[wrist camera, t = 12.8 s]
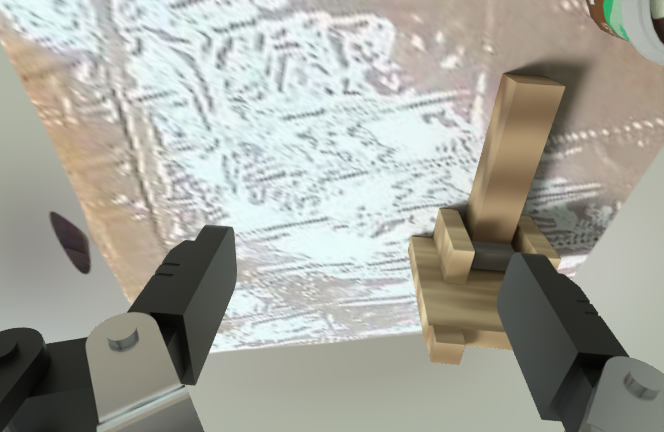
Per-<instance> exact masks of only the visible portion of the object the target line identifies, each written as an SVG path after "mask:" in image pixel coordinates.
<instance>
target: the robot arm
mask: <svg viewBox="0 0 664 432" xmlns="http://www.w3.org/2000/svg"><path fill="white" fill-rule="evenodd" d="M236 278H237V264H236V251H235V237H234V230H233V228H232V227H228V226H217V225H205V226H204V227H203V229H202V230H201V232H200V233H199V235H198V236H197V238H196V240H195V241H189V240H185V241H183V242H182V243H180V244H179V245H177V246H176V247H174V248H173V249H172V250H170V252H169V253H168V255H167V256H166V257H165V259H164V260H163V262H162V265H160V266H159V267H158V269H157V270H156V272H155V275H153V276H152V277H151V279H150V280H149V282H148V283H147V285H146V286H145V287H144V289H143V290H142V292H141V293H140V295H139V296H138V297H137V299H136V300H135V302H134V303H133V305H132V306H131V307H130V309H129V310H128V312H127V313H124V314H120V315H117V316H114V317H111V318H109V319H107V320H106V321H104V322H102V323H101V324H99V325H98V326H97V327H96V328H95V329H94V330H93V331H92V332H91V334H90V335H89V336H88V337H86V338H80V339H74V340H68V341H62V342H55V343H49V344H45V341H44V339H43V337H42V335H41V334H40V333H39V332H38V331H37V330H35V329H31V328H12V329H8V330H4V331H1V332H0V432H204V430H203V427H202V425H201V422H200V420H199V417H198V415H197V412H196V410H195V408H194V405H193V403H192V400H191V398H190V396H189V393H188V391H187V389H186V387H185V385H183V386H182V385H181V384H186V385H196V383H197V380H198V378H199V375H200V373H201V370H202V368H203V365H204V363H205V360H206V358H207V355H208V353H209V351H210V348H211V346H212V343H213V341H214V338H215V336H216V333H217V331H218V328H219V326H220V323H221V321H222V318H223V316H224V314H225V311H226V309H227V306H228V304H229V301H230V299H231V296H232V294H233V291H234V288H235V284H236ZM589 302H590V301H589V300H588V298H587V297H586V295H585V294H584V292H583V291H582V290H581V288H580V287H579V286H578V285H577V284H575V283H574V282H573V281H572V280H570V279H569V278H568V277H567V276H565V275H564V274H560V273H558V272H557V271H556V269H555V268H554V266H553V265H552V263H551V262H550V260H549V259H548V258H547V256H546V255H544V254H533V253H522V252H516V253H514V254H513V255H512V257H511V259H510V262H509V265H508V267H507V270H506V273H505V276H504V279H503V281H502V284H501V287H500V290H499V293H498V296H497V311H498V315H499V317H500V320H501V322H502V325H503V327H504V330H505V332H506V334H507V337H508V339H509V342H510V344H511V347H512V349H513V351H514V354H515V356H516V359H517V361H518V363H519V366H520V368H521V370H522V373H523V375H524V378H525V380H526V383H527V385H528V387H529V390H530V392H531V395H532V397H533V400H534V402H535V404H536V407H537V410H538V412H539V414H540V417H541V419H542V420H552V421H561V422H562V424H563V426H564V428H565V431H564V432H664V374H663V373H662V372H660V371H659V370H657V369H656V368H654V367H653V366H650V365H649V364H647V363H645V362H642V361H640V360H637V359H634V358H630V357H629V355H628V354H627V353H626V351H625V350H624V348H623V347H622V346H621V344H620V343H619V342H618V340H617V339H616V337H615V336H614V334H613V333H612V332H611V330H610V329H609V327H608V326H607V325H606V323H605V322H604V320H603V319H602V318H601V316H598V312H597V311H596V309H595V308H594V306H593V305H592V304H590V303H589Z"/></svg>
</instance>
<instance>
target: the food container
mask: <svg viewBox="0 0 664 432" xmlns="http://www.w3.org/2000/svg"><path fill="white" fill-rule="evenodd" d="M586 2H587V5H588V9H589V12H590V16H591V18H592V19H593V20H594V21H595V23H596V24H597V25H598V26H599V28H600V29H601V30H603V31H605V32H607V33H609V34H611V35H613V36H616V37H618V38H621V39H624V40H626V41H629V42H631V43H632V44H633V46H634V47H635V48H636V49H637V50H638V51H639V53H640V54H642V55H643V56H645V57H646V58H647V59H649V60H650V61H652V62H655V63H657V64H659V65H662V66H664V0H586Z"/></svg>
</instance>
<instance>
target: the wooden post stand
mask: <svg viewBox="0 0 664 432" xmlns="http://www.w3.org/2000/svg"><path fill="white" fill-rule="evenodd" d="M511 246H512V248H513V250H514V251H515V253H516V252H522V253H533V254H544V255H546V256H547V258H548V259H549V260H550V262H551V263H552V265H553V266H554V268H555V269H556V270H557V268H558V266H559V264H560V261H561V258H560V257H559V255H558V254H557V252H556V251H555V250H554V248H553V247H552V246H551V244H550V243H549V241H548V240H547V239H546V237H545V236H544V234H543V233H542V232H541V230H540V229H539V228H538V226H537V225H536V223H535V222H534V221H533V219H532V218H531V216H525V215H520V218H519V221H518V224H517V227H516V230H515V233H514V235H513V238H512V241H511ZM408 253H409V258H410V264H411V270H412V275H413V281H414V287H415V292H416V298H417V303H418V309H419V315H420V320H421V326H422V332H423V337H424V342H428V343H427V345H428V350H429V356H430V361H431V362H435V363H445V364H456V365H459V364H460V361H461V358H462V355H463V352H464V349H465V346H475V347H486V348H497V349H508V350H513V349H512V347H511V344H510V342H509V339H508V337H507V334H506V332H505V330H504V327H503V325H502V322H501V320H500V317H499V315H498V311H497V296H498V293H499V290H500V287H501V284H502V281H503V279H504V276H505V273H506V271H499V270H488V269H476V268H472V267H471V264H472V261H473V258H474V254H475V250H474V248H473V245H472V243H471V240H470V238H469V236H468V233H467V231H466V229H465V226H464V224H463V222H462V219H461V217H460V215H459V212H458V210H455V209H444V208H439V212H438V216H437V220H436V225H435V229H434V233H433V238H425V237H414V236H411V238H410V243H409V248H408Z"/></svg>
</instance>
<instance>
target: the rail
mask: <svg viewBox="0 0 664 432" xmlns="http://www.w3.org/2000/svg"><path fill="white" fill-rule="evenodd" d="M564 90H565V86H563V85H561V84H559V83H558V82H556V81H554V80H552V79H550V78H548V77H542V76H529V75H516V74H503V75H502V78H501V82H500V86H499V90H498V93H497V97H496V101H495V105H494V108H493V112H492V116H491V120H490V123H489V127H488V131H487V134H486V138H485V142H484V146H483V149H482V153H481V157H480V161H479V164H478V168H477V172H476V176H475V179H474V183H473V187H472V190H471V194H470V198H469V202H468V205H467V209H466V213H465V217H464V220H463V224H464V226H465V229H466V231H467V233H468V236H469V238H470V240H471V243H472V245H473V248H474V250H475V254H474V258H473V261H472V264H471V267H472V268H476V269H488V270H499V271H506V270H507V267H508V265H509V262H510V259H511V257H512V255H513V254H514V253H515V251H514V250H513V248H512V246H511V241H512V238H513V235H514V233H515V230H516V227H517V224H518V221H519V218H520V215H521V213H522V210H523V207H524V204H525V201H526V198H527V195H528V193H529V190H530V187H531V184H532V181H533V178H534V175H535V173H536V170H537V167H538V164H539V161H540V158H541V155H542V152H543V150H544V147H545V144H546V141H547V138H548V135H549V132H550V130H551V127H552V124H553V121H554V118H555V115H556V112H557V110H558V107H559V104H560V101H561V98H562V95H563V92H564Z"/></svg>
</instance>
